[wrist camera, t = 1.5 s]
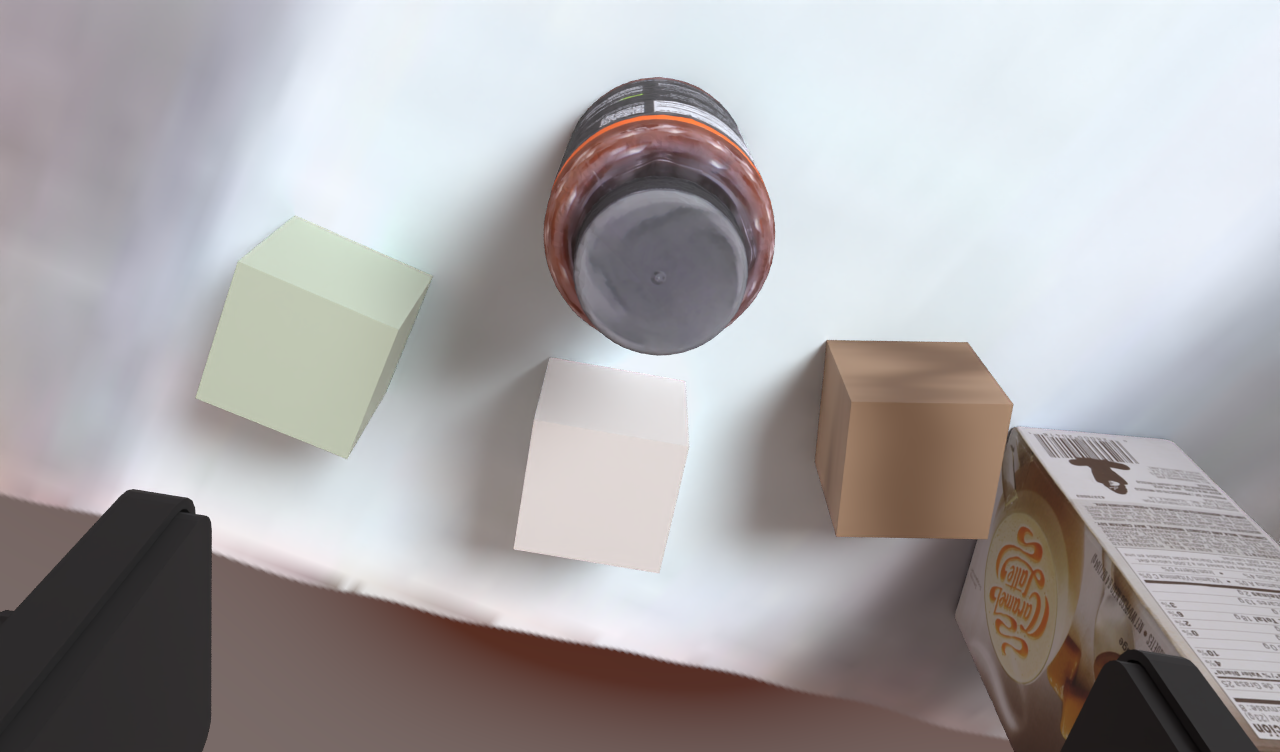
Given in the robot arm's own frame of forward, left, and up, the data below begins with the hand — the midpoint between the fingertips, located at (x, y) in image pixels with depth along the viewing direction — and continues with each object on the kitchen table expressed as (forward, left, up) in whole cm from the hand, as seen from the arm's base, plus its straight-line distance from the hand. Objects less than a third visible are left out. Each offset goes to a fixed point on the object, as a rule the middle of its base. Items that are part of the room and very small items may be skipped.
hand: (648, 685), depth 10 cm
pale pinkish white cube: (0, +10, -24) cm, 26 cm away
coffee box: (-18, +11, -25) cm, 32 cm away
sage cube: (+10, +7, -24) cm, 27 cm away
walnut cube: (-10, +7, -24) cm, 27 cm away
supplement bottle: (0, 0, -25) cm, 25 cm away
